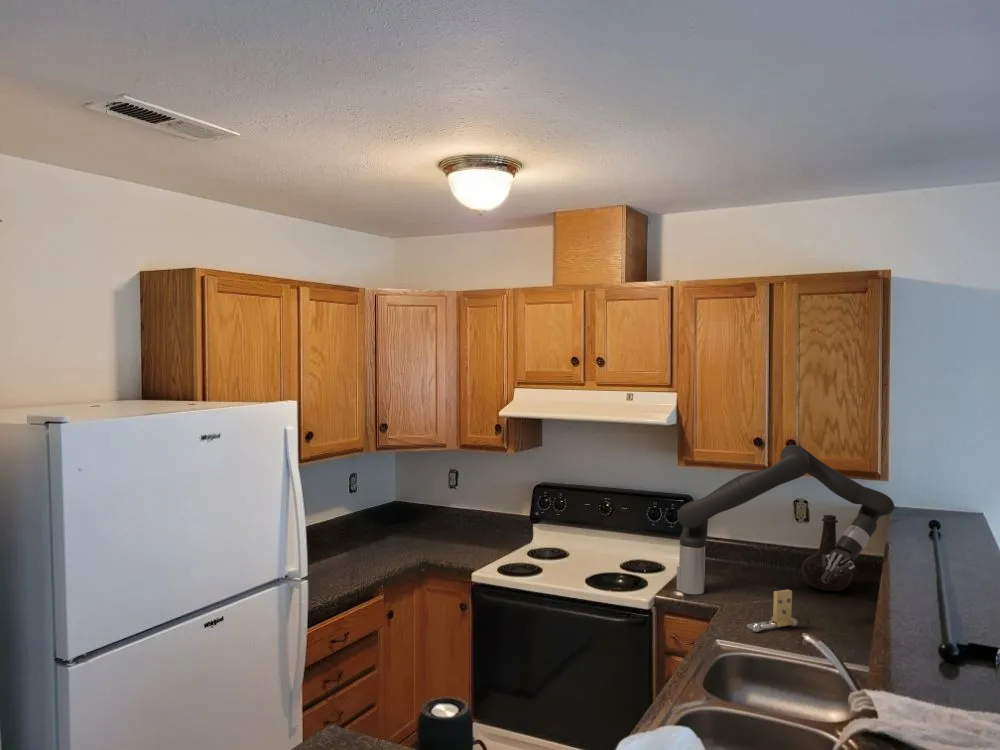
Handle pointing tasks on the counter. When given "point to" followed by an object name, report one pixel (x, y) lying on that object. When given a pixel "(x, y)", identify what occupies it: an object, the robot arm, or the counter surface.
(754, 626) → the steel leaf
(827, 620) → the counter surface
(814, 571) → the glass bottle
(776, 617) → the yellow bracket with holes
